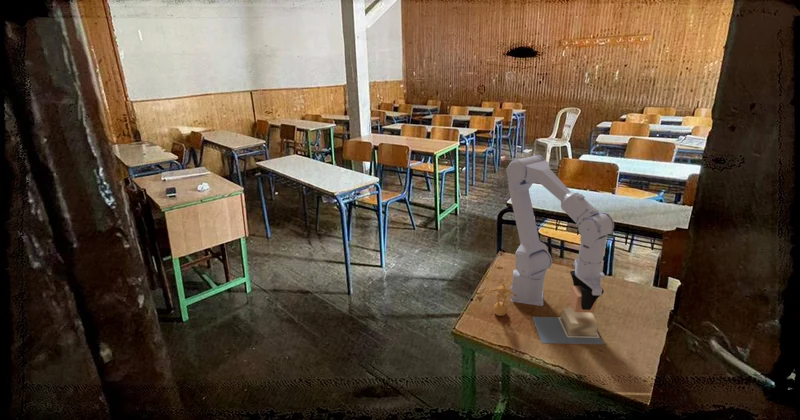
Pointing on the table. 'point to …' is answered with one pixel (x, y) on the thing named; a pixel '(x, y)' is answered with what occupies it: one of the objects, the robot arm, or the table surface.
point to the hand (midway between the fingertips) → (582, 302)
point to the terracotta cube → (578, 300)
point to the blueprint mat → (560, 332)
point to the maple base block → (579, 322)
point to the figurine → (499, 307)
